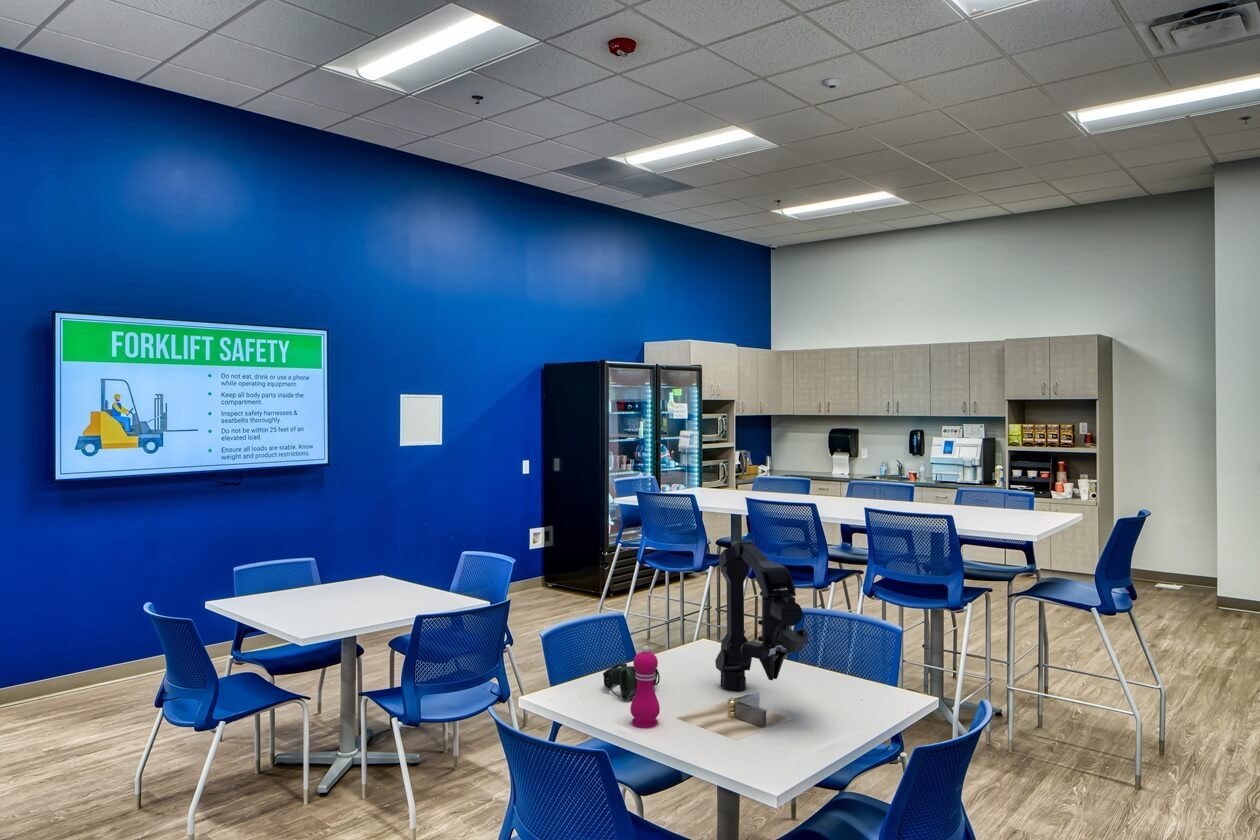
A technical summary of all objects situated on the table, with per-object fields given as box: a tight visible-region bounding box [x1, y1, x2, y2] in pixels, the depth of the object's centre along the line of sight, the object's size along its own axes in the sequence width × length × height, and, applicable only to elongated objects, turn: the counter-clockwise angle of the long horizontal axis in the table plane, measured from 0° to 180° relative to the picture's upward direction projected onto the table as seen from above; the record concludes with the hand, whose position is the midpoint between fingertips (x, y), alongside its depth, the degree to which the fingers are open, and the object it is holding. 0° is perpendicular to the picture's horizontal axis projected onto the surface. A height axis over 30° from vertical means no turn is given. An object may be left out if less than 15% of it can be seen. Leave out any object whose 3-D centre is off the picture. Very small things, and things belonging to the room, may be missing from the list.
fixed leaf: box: [727, 691, 760, 718], centre depth 210 cm, size 11×2×4 cm, turn 133°
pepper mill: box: [629, 645, 661, 729], centre depth 201 cm, size 7×7×20 cm
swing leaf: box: [728, 702, 767, 727], centre depth 203 cm, size 11×2×4 cm, turn 43°
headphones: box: [602, 662, 661, 701], centre depth 228 cm, size 13×13×20 cm
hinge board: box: [674, 699, 794, 741], centre depth 206 cm, size 20×22×1 cm
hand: (772, 679), depth 205 cm, fingers closed
